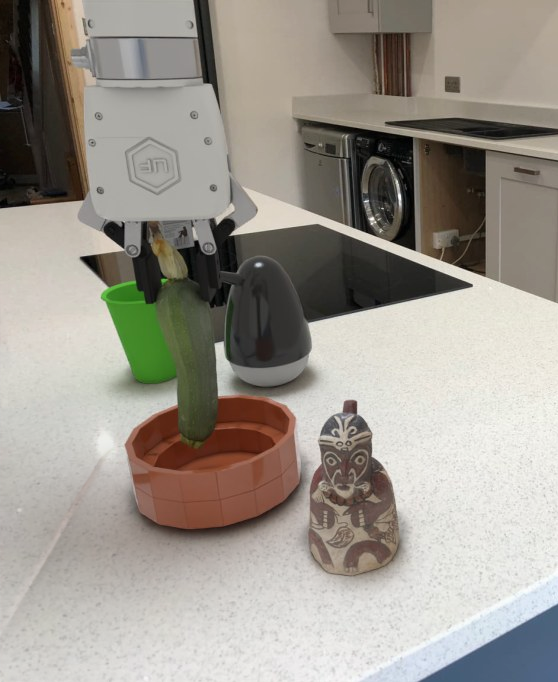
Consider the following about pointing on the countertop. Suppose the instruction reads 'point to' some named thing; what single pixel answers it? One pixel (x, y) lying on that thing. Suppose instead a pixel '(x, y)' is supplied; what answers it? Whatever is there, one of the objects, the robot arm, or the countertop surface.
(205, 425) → the vegetable
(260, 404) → the bowl
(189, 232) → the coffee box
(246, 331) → the pump dispenser
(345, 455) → the figurine
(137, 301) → the cup
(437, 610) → the countertop surface
